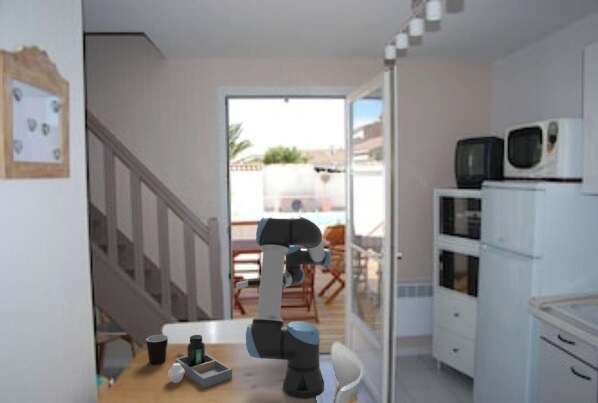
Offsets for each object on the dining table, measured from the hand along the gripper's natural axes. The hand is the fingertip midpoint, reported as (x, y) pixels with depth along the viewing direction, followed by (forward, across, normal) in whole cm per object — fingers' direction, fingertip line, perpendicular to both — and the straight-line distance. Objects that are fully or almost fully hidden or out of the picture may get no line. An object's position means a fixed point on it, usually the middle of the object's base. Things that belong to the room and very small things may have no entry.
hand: (247, 288), depth 182 cm
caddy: (+22, +3, -30) cm, 37 cm away
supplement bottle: (+21, +8, -29) cm, 37 cm away
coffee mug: (+26, +27, -30) cm, 48 cm away
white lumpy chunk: (+33, +5, -30) cm, 45 cm away
